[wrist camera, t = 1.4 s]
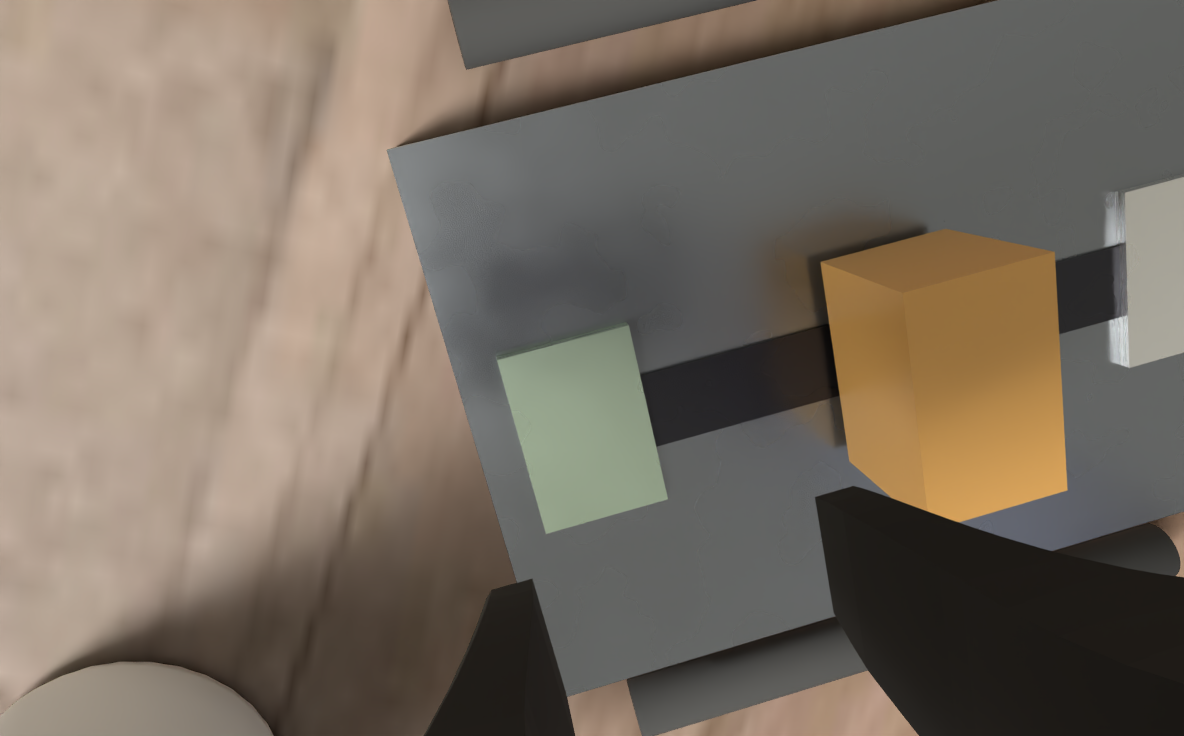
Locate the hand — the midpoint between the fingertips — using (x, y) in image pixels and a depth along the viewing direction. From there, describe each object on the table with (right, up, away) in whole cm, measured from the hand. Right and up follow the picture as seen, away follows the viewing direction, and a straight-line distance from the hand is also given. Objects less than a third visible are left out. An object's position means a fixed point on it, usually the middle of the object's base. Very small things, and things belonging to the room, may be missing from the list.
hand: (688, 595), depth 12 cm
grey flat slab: (+5, +4, +9) cm, 12 cm away
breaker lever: (+6, +4, +7) cm, 10 cm away
